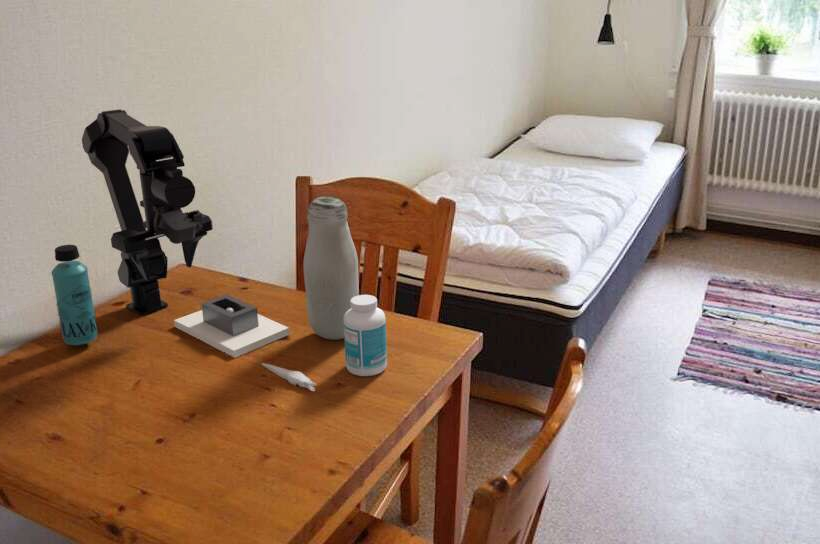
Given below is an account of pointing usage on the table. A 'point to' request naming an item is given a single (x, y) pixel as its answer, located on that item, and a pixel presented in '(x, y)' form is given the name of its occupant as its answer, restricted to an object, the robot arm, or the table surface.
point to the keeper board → (232, 344)
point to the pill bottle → (365, 337)
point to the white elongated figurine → (292, 376)
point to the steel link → (230, 315)
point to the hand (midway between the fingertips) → (168, 273)
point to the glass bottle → (329, 267)
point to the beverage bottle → (73, 297)
